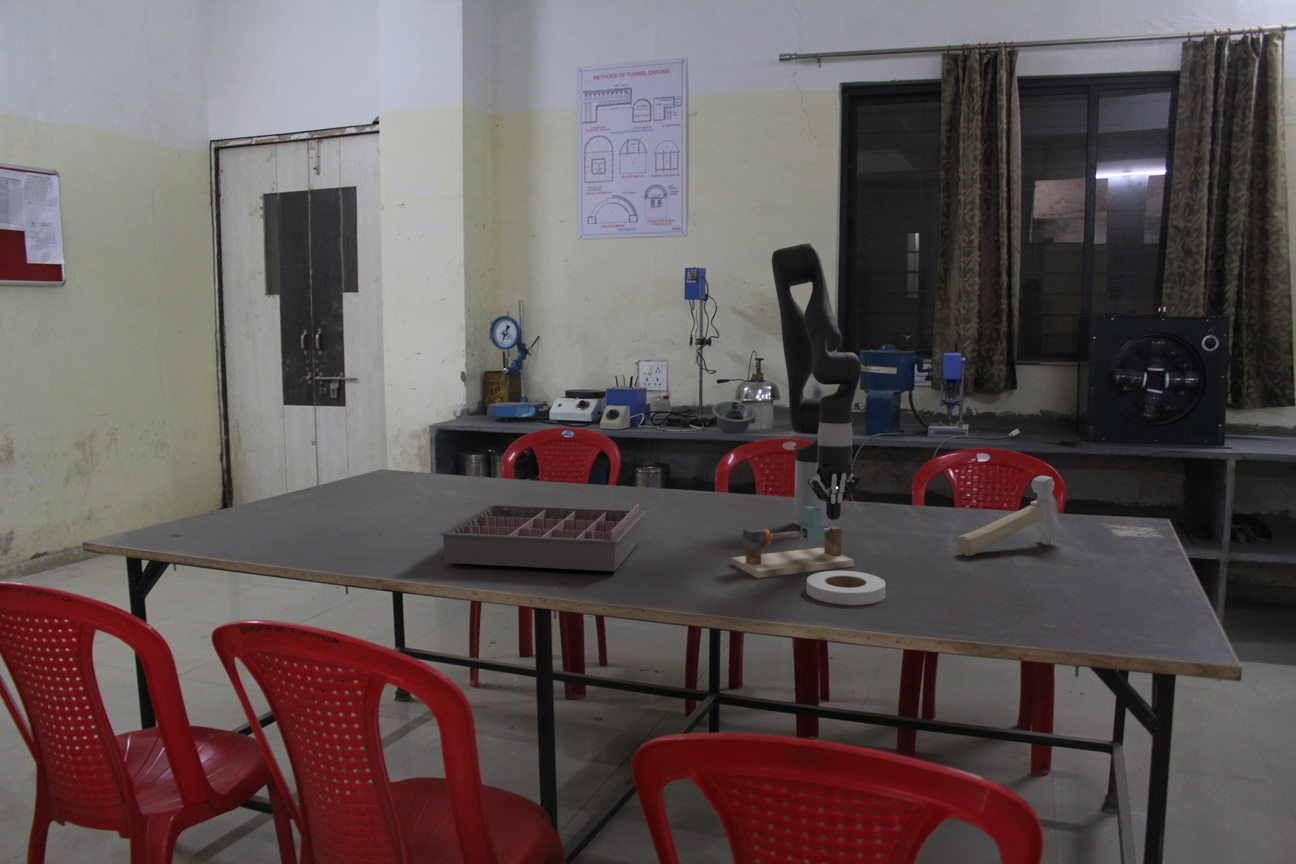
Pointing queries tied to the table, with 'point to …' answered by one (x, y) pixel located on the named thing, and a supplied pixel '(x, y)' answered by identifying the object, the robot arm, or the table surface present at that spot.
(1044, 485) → the hammer
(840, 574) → the roll of tape
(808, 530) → the teal stepped block
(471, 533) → the organizer tray
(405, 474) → the table surface
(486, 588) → the table surface
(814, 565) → the cable board
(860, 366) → the robot arm
